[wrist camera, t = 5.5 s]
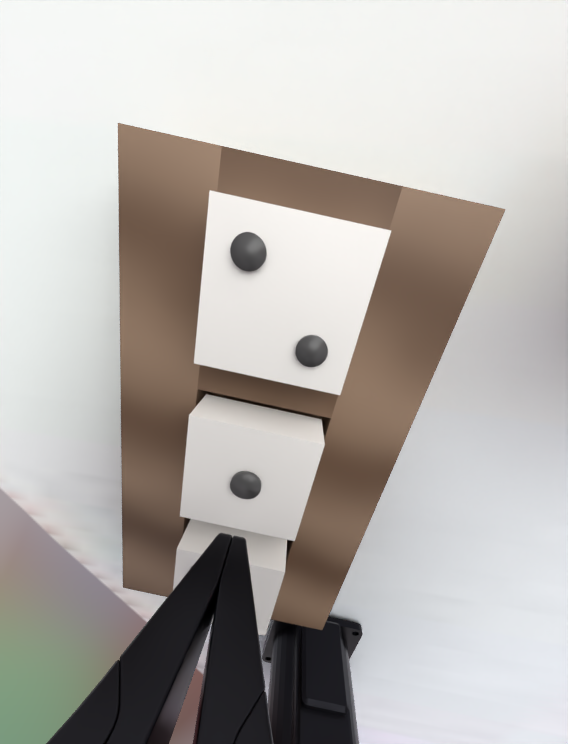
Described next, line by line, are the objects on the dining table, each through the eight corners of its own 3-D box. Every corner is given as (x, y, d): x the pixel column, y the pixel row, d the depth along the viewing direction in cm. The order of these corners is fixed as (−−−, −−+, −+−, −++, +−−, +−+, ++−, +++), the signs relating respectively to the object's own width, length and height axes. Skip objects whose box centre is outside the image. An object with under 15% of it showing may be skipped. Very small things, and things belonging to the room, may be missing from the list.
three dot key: (269, 596, 15) (264, 640, 13) (185, 577, 15) (168, 619, 13) (287, 535, 14) (284, 576, 12) (192, 514, 14) (174, 553, 12)
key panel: (319, 576, 18) (322, 630, 16) (150, 539, 18) (123, 587, 16) (452, 226, 11) (505, 209, 8) (166, 163, 11) (118, 122, 8)
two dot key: (334, 376, 11) (340, 397, 9) (211, 349, 11) (191, 365, 9) (374, 239, 9) (394, 229, 7) (227, 207, 9) (206, 187, 7)
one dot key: (295, 506, 13) (294, 545, 11) (195, 485, 13) (177, 520, 11) (321, 419, 11) (325, 448, 9) (206, 394, 11) (186, 417, 9)
